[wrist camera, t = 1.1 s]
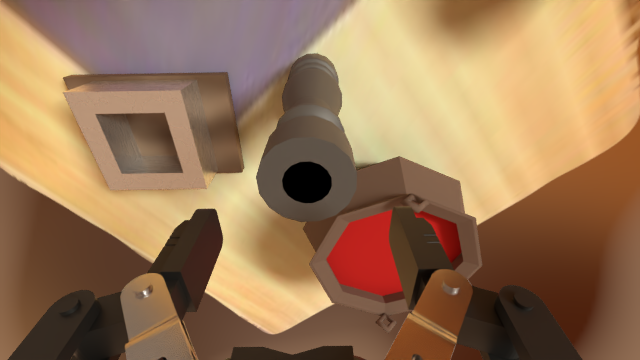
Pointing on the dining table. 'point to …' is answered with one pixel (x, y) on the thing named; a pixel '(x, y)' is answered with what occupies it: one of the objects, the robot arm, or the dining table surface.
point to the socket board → (155, 128)
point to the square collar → (119, 142)
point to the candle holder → (309, 147)
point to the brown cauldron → (373, 236)
